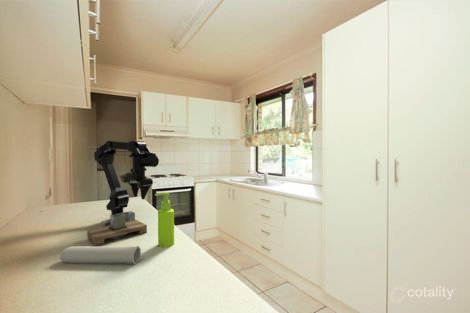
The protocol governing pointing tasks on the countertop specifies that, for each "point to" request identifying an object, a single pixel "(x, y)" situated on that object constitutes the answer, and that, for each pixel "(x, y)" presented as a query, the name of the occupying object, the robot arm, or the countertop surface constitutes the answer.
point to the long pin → (117, 223)
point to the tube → (101, 254)
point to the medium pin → (129, 216)
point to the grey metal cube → (105, 223)
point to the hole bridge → (114, 232)
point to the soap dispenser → (165, 222)
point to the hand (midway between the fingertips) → (139, 197)
